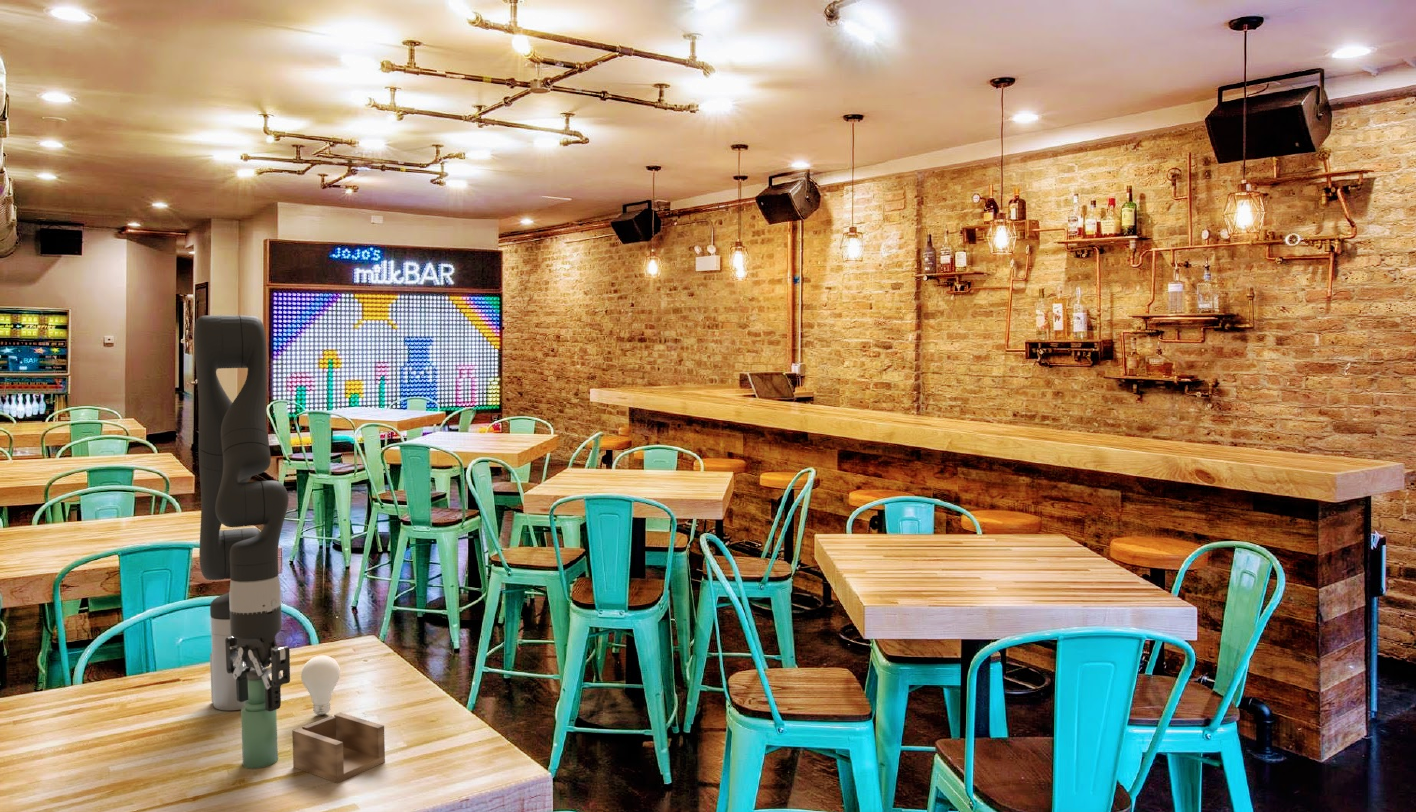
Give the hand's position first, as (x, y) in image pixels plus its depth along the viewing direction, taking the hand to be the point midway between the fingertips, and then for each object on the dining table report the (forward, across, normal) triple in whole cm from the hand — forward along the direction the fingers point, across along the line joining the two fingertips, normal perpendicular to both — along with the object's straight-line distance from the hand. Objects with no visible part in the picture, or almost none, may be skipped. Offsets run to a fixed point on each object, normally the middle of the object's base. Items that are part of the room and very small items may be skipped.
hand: (258, 704), depth 155 cm
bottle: (+9, 0, 0) cm, 9 cm away
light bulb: (+10, -9, +18) cm, 22 cm away
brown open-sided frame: (+9, +12, +6) cm, 16 cm away
